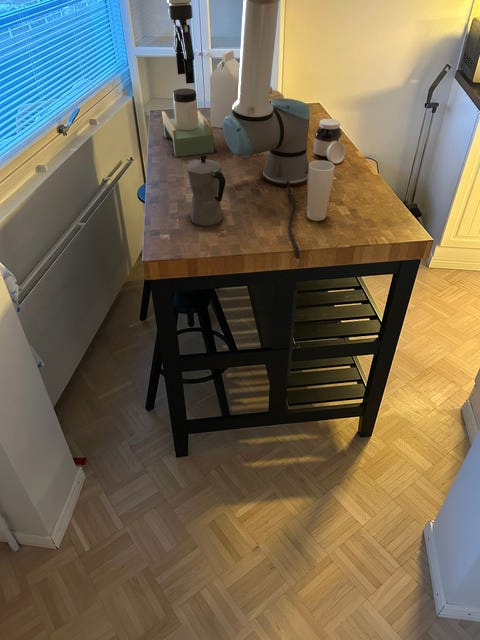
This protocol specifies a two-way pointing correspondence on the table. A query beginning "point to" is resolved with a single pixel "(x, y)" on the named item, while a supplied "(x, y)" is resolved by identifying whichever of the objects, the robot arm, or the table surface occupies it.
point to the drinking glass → (319, 189)
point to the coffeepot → (206, 191)
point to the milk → (223, 89)
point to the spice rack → (189, 137)
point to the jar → (185, 109)
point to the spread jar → (329, 141)
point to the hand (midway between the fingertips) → (185, 78)
